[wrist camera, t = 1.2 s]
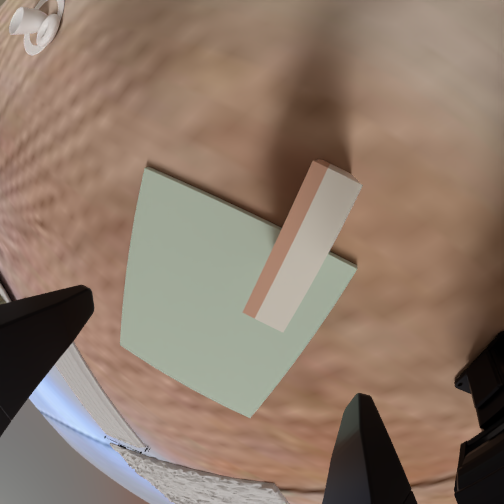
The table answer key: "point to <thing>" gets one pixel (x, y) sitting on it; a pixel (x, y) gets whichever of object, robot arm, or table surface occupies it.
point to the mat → (212, 295)
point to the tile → (303, 243)
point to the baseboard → (95, 397)
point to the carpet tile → (199, 483)
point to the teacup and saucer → (36, 25)
